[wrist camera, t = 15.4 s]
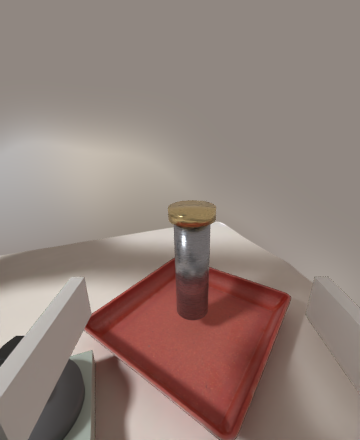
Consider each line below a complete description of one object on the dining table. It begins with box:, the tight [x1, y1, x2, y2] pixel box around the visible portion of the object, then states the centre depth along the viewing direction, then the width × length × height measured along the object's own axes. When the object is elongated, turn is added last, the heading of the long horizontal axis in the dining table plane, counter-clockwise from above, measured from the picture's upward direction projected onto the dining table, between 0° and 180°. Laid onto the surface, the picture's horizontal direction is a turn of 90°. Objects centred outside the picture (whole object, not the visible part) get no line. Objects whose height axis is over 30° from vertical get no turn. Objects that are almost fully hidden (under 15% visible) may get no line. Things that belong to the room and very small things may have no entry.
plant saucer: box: [84, 258, 291, 440], centre depth 27 cm, size 18×18×3 cm
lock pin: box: [168, 200, 216, 320], centre depth 24 cm, size 5×5×12 cm
